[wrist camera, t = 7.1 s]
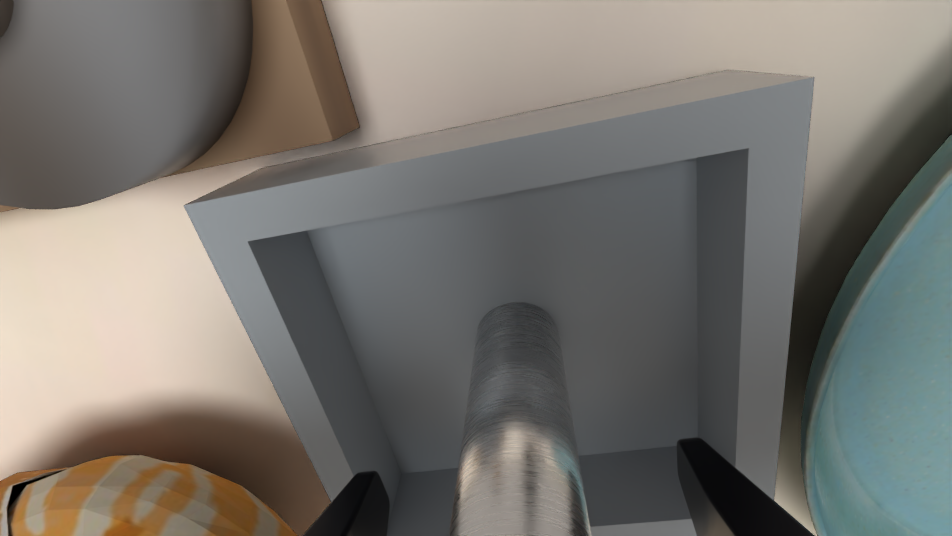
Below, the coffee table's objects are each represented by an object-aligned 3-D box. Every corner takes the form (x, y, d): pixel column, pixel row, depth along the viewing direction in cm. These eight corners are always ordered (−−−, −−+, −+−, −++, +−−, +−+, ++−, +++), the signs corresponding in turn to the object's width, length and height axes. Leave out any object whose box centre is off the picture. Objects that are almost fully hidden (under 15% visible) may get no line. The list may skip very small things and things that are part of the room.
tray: (727, 69, 11) (814, 76, 8) (719, 443, 16) (770, 536, 13) (261, 168, 12) (183, 205, 9) (387, 477, 17) (362, 565, 14)
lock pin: (562, 285, 12) (649, 700, 4) (575, 372, 14) (662, 822, 6) (456, 300, 13) (360, 701, 5) (477, 384, 14) (429, 813, 6)
